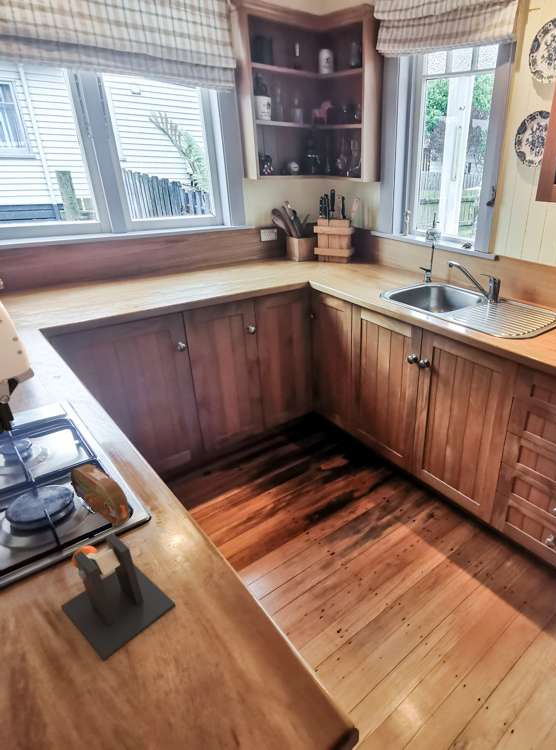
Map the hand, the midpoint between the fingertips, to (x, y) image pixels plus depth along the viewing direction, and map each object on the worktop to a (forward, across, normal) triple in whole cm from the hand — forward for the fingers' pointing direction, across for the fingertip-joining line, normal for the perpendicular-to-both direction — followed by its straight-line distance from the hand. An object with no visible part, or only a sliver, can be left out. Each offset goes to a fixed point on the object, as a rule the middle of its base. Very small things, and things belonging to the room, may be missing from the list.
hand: (1, 428), depth 62 cm
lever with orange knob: (+19, -2, +13) cm, 23 cm away
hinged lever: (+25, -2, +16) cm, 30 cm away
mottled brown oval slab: (+25, -10, -5) cm, 28 cm away
